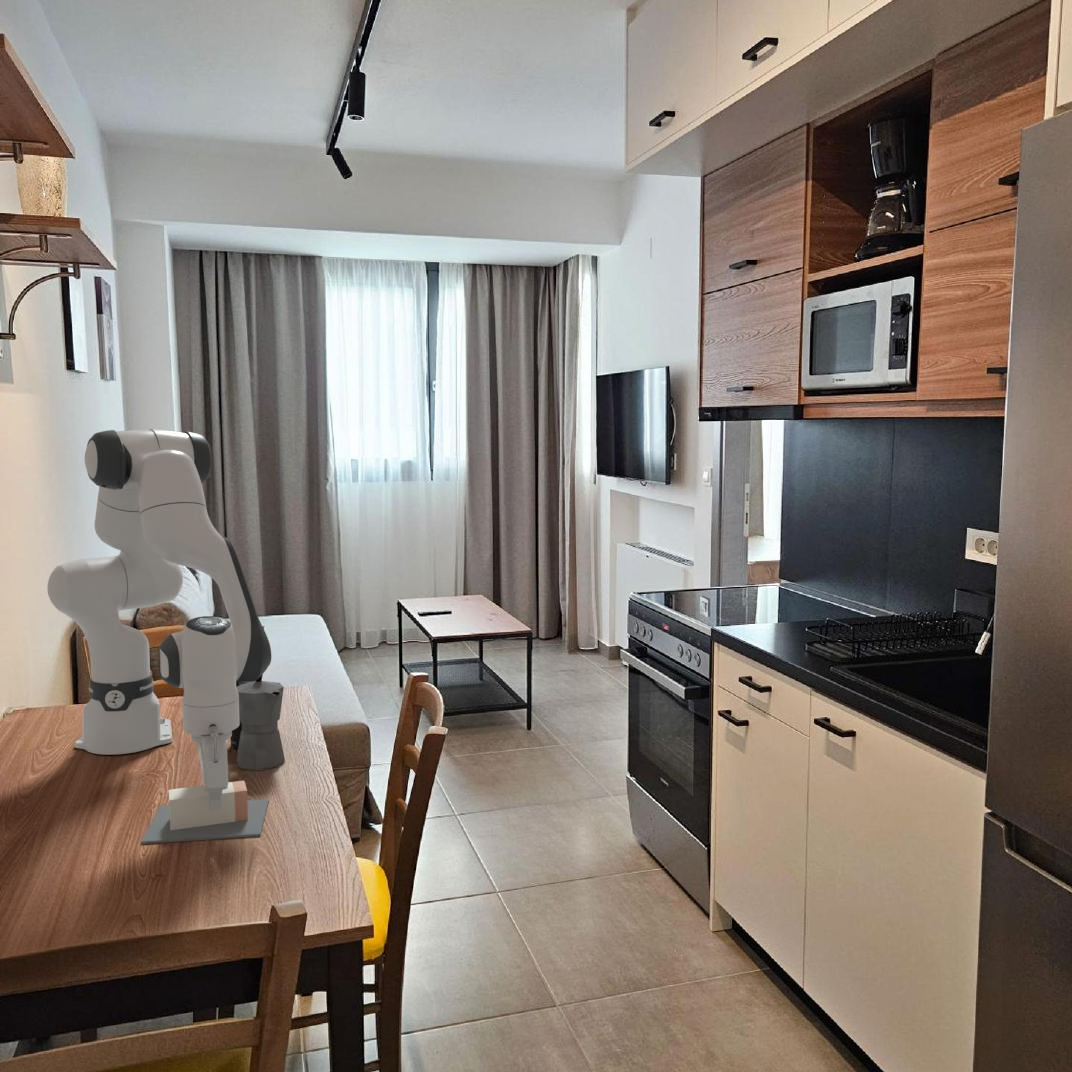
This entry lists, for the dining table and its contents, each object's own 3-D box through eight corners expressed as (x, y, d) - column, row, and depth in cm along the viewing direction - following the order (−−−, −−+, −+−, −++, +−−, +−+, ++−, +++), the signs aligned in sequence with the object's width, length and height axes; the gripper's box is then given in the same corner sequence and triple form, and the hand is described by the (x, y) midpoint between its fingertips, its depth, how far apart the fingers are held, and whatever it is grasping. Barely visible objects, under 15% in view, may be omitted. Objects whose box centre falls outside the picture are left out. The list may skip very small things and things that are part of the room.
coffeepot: (301, 764, 190) (299, 673, 188) (259, 776, 183) (257, 682, 181) (255, 747, 200) (253, 660, 198) (214, 758, 193) (211, 669, 191)
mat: (160, 808, 167) (159, 805, 167) (268, 801, 171) (268, 799, 171) (141, 844, 153) (141, 841, 153) (260, 836, 156) (260, 833, 156)
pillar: (168, 789, 161) (244, 780, 166) (169, 819, 162) (245, 809, 166) (169, 800, 157) (247, 790, 161) (170, 830, 157) (248, 819, 162)
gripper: (236, 733, 152) (238, 819, 153) (227, 699, 171) (229, 776, 172) (193, 737, 149) (196, 825, 151) (188, 702, 168) (191, 780, 170)
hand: (213, 798), depth 162 cm, fingers open, 8 cm apart
